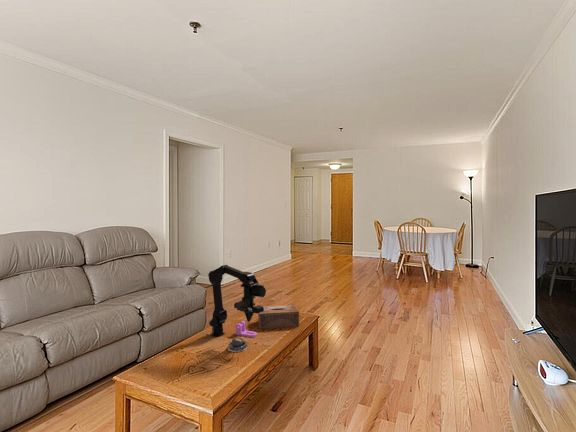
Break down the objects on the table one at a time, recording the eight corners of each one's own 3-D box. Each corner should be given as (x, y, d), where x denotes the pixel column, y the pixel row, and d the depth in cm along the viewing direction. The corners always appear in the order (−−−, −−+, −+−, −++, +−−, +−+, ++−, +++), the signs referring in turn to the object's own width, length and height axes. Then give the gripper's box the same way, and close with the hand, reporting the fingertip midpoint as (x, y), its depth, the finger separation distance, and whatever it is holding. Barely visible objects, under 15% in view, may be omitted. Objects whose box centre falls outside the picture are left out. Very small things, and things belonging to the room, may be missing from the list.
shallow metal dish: (223, 348, 184) (223, 344, 184) (237, 341, 193) (237, 338, 193) (237, 353, 177) (237, 349, 177) (251, 346, 186) (251, 343, 186)
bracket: (235, 334, 204) (235, 323, 204) (240, 331, 209) (240, 320, 209) (254, 338, 199) (254, 326, 199) (258, 334, 204) (258, 323, 204)
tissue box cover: (295, 319, 232) (295, 305, 232) (298, 326, 218) (298, 311, 217) (258, 321, 228) (258, 306, 228) (259, 329, 214) (259, 313, 214)
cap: (229, 347, 185) (229, 340, 185) (237, 343, 190) (237, 336, 189) (237, 350, 181) (237, 342, 181) (245, 346, 186) (245, 339, 186)
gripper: (227, 295, 191) (227, 322, 191) (250, 300, 180) (250, 329, 180) (241, 291, 200) (241, 317, 200) (264, 296, 188) (264, 323, 189)
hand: (248, 321), depth 192 cm, fingers closed
